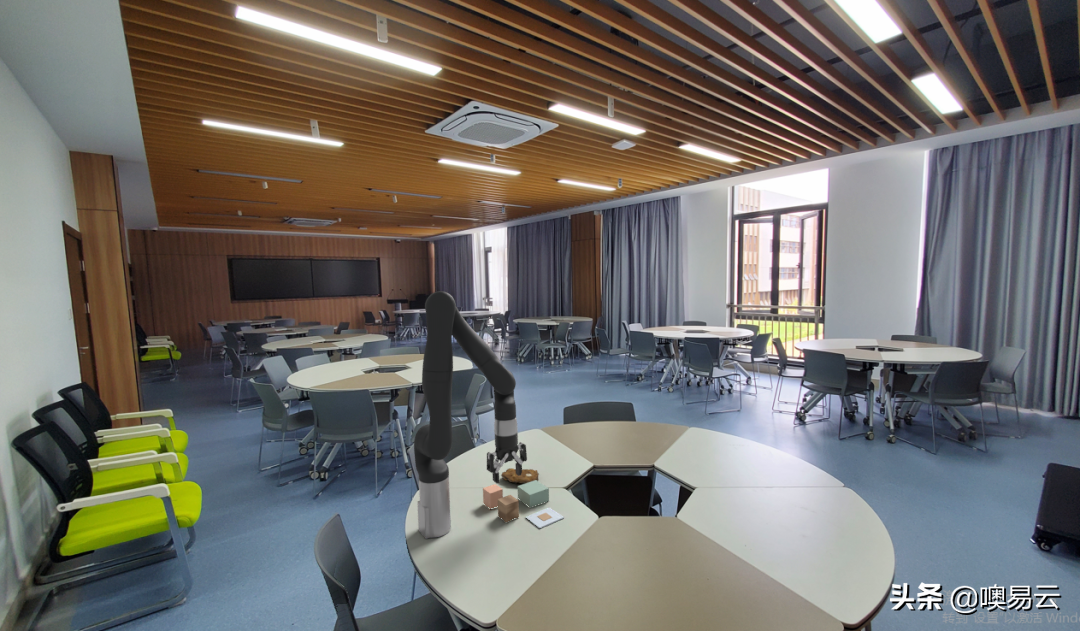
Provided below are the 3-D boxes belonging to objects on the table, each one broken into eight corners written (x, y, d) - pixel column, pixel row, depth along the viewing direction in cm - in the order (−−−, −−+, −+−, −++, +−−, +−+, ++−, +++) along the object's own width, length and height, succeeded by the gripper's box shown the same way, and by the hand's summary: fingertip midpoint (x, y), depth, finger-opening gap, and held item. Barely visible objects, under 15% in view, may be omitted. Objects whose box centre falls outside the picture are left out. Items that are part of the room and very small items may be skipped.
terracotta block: (490, 510, 149) (490, 493, 148) (483, 504, 153) (482, 488, 152) (503, 505, 152) (502, 489, 151) (495, 500, 156) (495, 483, 155)
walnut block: (506, 523, 141) (505, 505, 140) (498, 516, 145) (497, 499, 144) (518, 518, 144) (518, 500, 143) (510, 511, 148) (510, 494, 147)
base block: (530, 508, 150) (529, 494, 149) (517, 499, 156) (517, 486, 156) (549, 501, 154) (548, 488, 154) (536, 493, 161) (536, 480, 160)
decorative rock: (498, 488, 166) (537, 490, 165) (498, 478, 165) (538, 479, 164) (502, 473, 177) (539, 475, 176) (502, 464, 176) (539, 465, 176)
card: (539, 528, 137) (539, 527, 137) (525, 518, 143) (525, 516, 143) (564, 518, 143) (564, 516, 143) (549, 508, 149) (549, 506, 149)
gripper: (493, 439, 135) (495, 489, 136) (530, 428, 143) (532, 476, 145) (481, 433, 141) (483, 481, 142) (517, 423, 149) (519, 468, 151)
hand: (507, 478), depth 144 cm, fingers open, 8 cm apart
